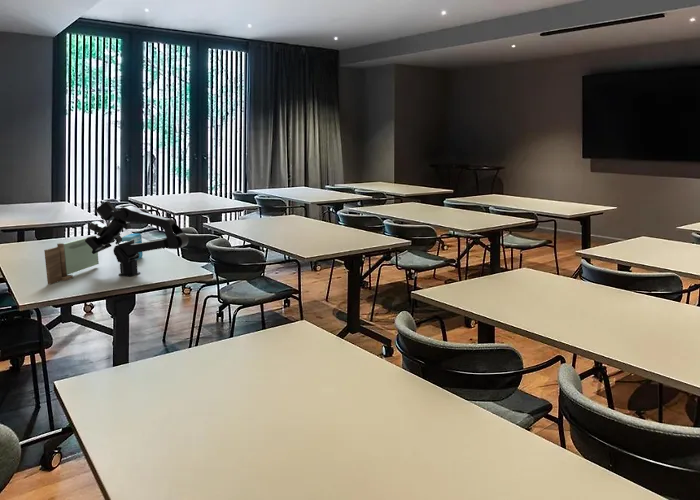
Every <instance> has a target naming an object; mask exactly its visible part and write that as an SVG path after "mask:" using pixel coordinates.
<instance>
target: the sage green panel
mask: <svg viewBox="0 0 700 500" xmlns="http://www.w3.org/2000/svg"><path fill="white" fill-rule="evenodd" d="M86 238H87V237H83V238H79V239H75V240H72V241H69V242H64V252H65V263H66V273H67V275H72V274H74V273H77V272H80V271H83V270H85V269H88V268H90V267H94V266H96V265H99V264H100V263H99V252H98V253H95V254H93V253H92V250H93V249H92V248H91V247H90V246H89V245H88V244H87V243H86V242H85V240H86Z"/></svg>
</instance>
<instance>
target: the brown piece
mask: <svg viewBox="0 0 700 500" xmlns="http://www.w3.org/2000/svg"><path fill="white" fill-rule="evenodd" d="M64 243H65V242H64ZM64 243H63V242H62V243H61V242H59V243H56V246H54V247H51V248H50V247H49V248H47V249H44V260H45V268H46V269H45V270H46V279H47V280H46V281H47V285H53V284H56V283H59V282H61V281H62V282H63V281H64V282H65V281H66V282H67V281H68V280H72V279H74V275H73V274H68V275H67V273H66V263H65V252H64Z"/></svg>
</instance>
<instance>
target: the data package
mask: <svg viewBox="0 0 700 500" xmlns="http://www.w3.org/2000/svg"><path fill="white" fill-rule="evenodd" d="M121 237H122V241H121V242H124V241H131V240H134V243H143V241H142V234H141V233H129V234H127V235H124V236H121ZM138 253H139V254H140V255H139V259H136V260H140V259H142V258H143V255H144V254H143V252H138Z"/></svg>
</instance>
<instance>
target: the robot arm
mask: <svg viewBox="0 0 700 500" xmlns="http://www.w3.org/2000/svg"><path fill="white" fill-rule="evenodd" d="M95 212H96V213H97V215H99V216H100V217H101V218H102V220H104V221H105V222H109V223H108V225H107V224H105V223H103V222H101V221H99V220H95V221H91V222H90V224H89V225H88V229H89V230H91V231H92V232H95V233H96V235H91V236H87V237H85V238H86V240H85V242H86V243H87V244H88V245H89V246H90V247H91V248H92V249H93V250H92V253H93V254H95V253H98V254H99V252H103V251H104V250H106V249H109V248H111V247H112V243H114V242H115V244H116V245H115V246H114V247H113V250H112V251H113V255H114V256H115V257H116V260H117V263H119V269H120V273H118V276H122V277H124V276H125V277H132V276H133V277H134V276H136V275H139V274H141V271H138V261H137V260H136V259H138V260H140V259H139V255H140V254H139V253H138V252H149V251H155V250H161V249H169V250H178V249H180V248H184V247H186V246H187V245H188V244H189V242H190V241H189V236H188V235H187V234H186V233H185V232H184V231H183V229H182V228H181V227H180V226H179V225H178V224H177V223H176V222H175V220H174V219H173V218H168V217H164V216H160V215H158V214H157V215H156V214H152V213H148V212H145V211H142V210H141V209H140V208H138V207H135V206H133V205H128V206H123V207H119V209H116V208H115V207H114V206H113V205H112V203H111V202H110V201H109V200H108V201H105V202H103V203H102V204H101V205H99V206H98V207H96V209H95ZM131 222H140V223H144V224H146V225H151V226H155V227H158V228H162V229H163V231H164V234H165V237H166V238H162V239H155V240H150V241H145V242H144V241H142V243H134V240H131V241H124V242H122V237H123V236H121V232H122V231H123V230H129V229H132V225H131ZM97 236H98V237H97Z"/></svg>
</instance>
